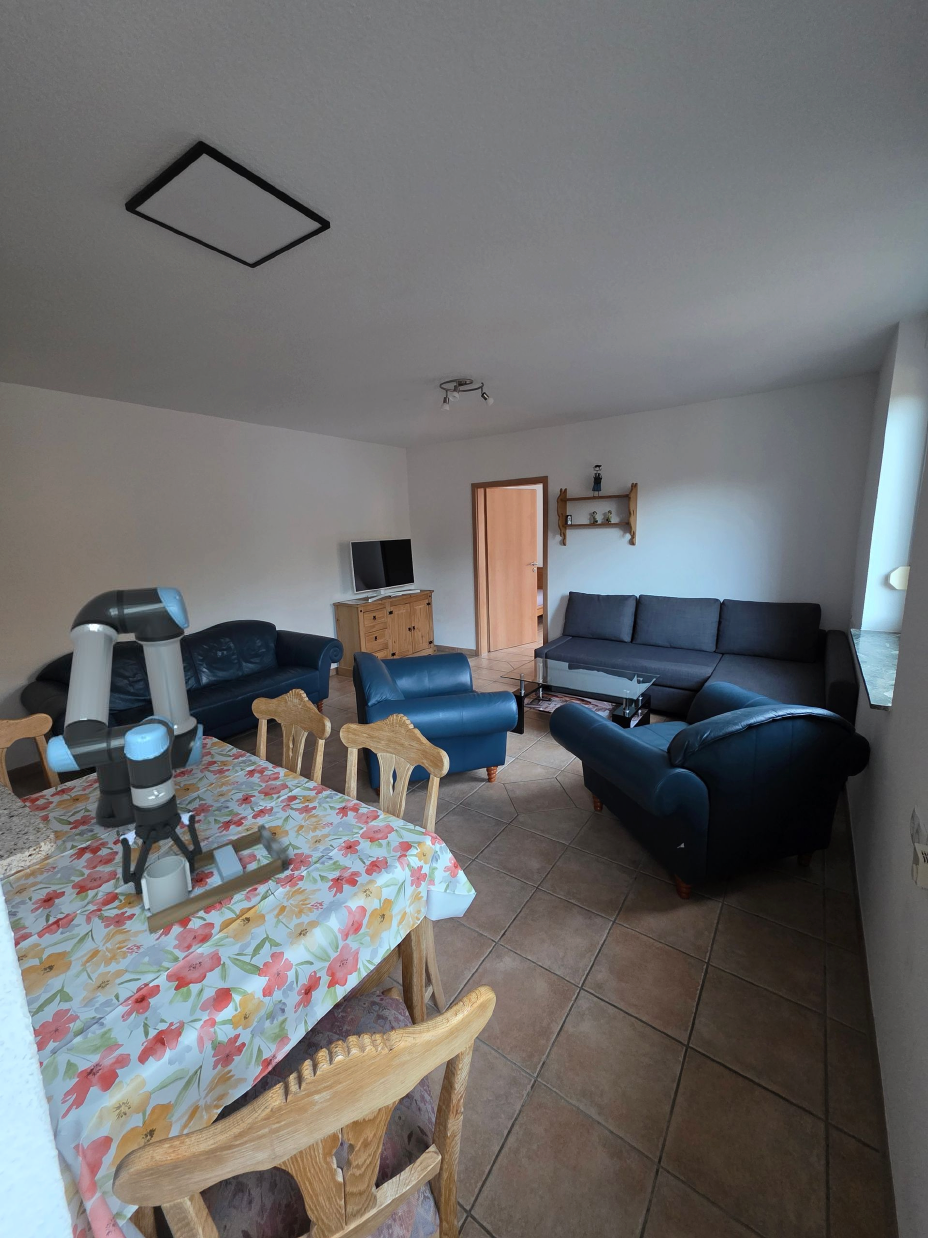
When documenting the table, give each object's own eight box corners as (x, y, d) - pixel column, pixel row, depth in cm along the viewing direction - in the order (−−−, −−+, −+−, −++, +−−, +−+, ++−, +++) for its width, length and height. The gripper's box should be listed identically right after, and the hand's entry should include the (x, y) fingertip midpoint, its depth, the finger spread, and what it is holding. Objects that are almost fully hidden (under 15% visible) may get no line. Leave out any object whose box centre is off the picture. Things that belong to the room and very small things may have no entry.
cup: (148, 922, 100) (142, 883, 98) (152, 891, 108) (147, 855, 107) (188, 909, 103) (183, 871, 102) (189, 880, 112) (184, 845, 110)
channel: (137, 891, 109) (135, 875, 108) (264, 838, 127) (263, 824, 126) (150, 934, 97) (147, 917, 96) (288, 869, 115) (287, 854, 114)
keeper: (214, 866, 117) (212, 851, 116) (232, 859, 119) (231, 844, 118) (225, 892, 108) (223, 876, 108) (244, 884, 111) (242, 868, 110)
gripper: (96, 826, 92) (113, 931, 96) (212, 789, 105) (222, 883, 109) (93, 809, 98) (109, 909, 102) (203, 776, 111) (214, 866, 115)
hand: (168, 895), depth 105 cm, fingers closed on cup, 7 cm apart
